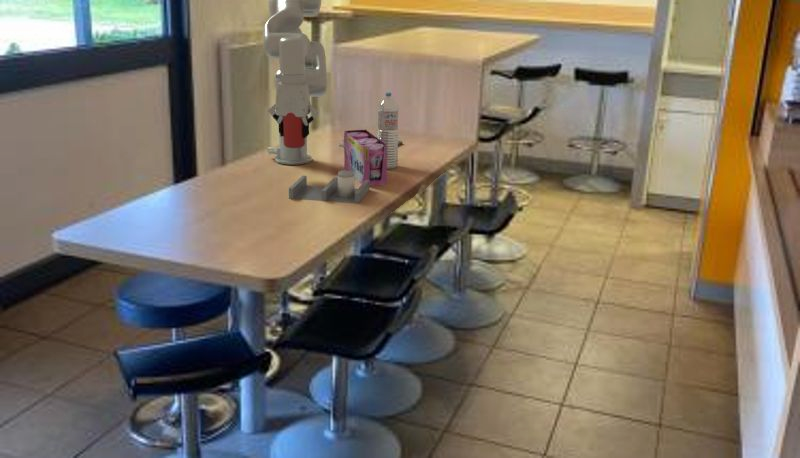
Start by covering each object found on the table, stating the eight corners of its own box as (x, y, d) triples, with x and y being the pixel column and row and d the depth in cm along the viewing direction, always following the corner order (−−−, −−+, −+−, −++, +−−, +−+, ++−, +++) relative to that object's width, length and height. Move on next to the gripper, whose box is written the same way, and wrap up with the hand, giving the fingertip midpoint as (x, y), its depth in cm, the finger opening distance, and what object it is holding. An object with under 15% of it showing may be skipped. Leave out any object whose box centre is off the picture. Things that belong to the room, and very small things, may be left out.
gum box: (388, 188, 250) (389, 145, 245) (364, 190, 247) (364, 147, 242) (366, 169, 271) (366, 129, 266) (343, 170, 268) (343, 130, 264)
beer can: (301, 149, 249) (300, 111, 244) (280, 147, 250) (279, 109, 245) (307, 144, 255) (307, 106, 250) (287, 142, 256) (286, 105, 251)
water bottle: (398, 164, 276) (399, 91, 268) (396, 169, 270) (397, 95, 262) (378, 163, 277) (379, 90, 269) (376, 169, 271) (376, 94, 262)
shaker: (335, 196, 237) (335, 173, 234) (339, 192, 241) (339, 169, 239) (352, 198, 236) (352, 174, 234) (356, 193, 241) (356, 170, 238)
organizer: (289, 201, 235) (288, 188, 234) (302, 188, 248) (302, 175, 247) (358, 206, 232) (359, 193, 230) (369, 192, 245) (369, 180, 243)
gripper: (261, 79, 243) (263, 137, 249) (317, 82, 240) (317, 141, 246) (269, 74, 249) (271, 131, 256) (323, 78, 247) (324, 135, 253)
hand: (294, 135), depth 251 cm, fingers closed on beer can, 6 cm apart
